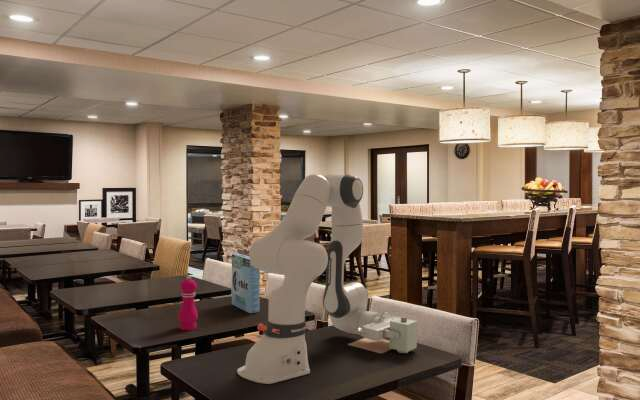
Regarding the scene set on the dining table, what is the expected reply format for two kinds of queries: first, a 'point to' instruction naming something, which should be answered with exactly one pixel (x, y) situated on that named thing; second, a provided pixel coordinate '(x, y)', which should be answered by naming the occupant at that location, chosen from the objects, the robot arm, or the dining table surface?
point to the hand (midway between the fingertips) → (405, 332)
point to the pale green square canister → (404, 334)
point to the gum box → (245, 284)
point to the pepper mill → (188, 305)
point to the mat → (372, 345)
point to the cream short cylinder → (402, 351)
